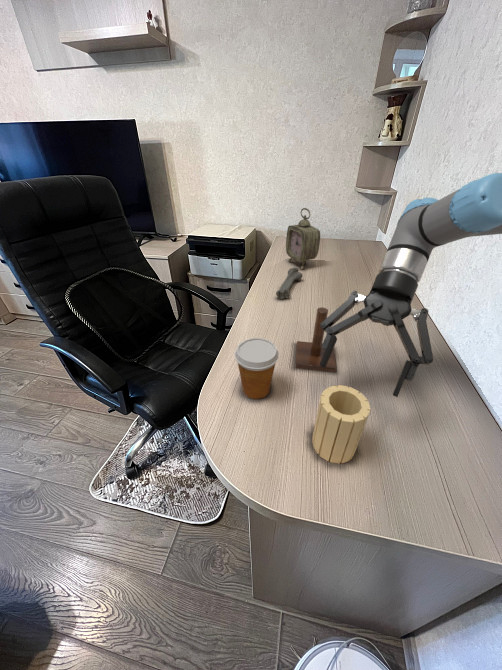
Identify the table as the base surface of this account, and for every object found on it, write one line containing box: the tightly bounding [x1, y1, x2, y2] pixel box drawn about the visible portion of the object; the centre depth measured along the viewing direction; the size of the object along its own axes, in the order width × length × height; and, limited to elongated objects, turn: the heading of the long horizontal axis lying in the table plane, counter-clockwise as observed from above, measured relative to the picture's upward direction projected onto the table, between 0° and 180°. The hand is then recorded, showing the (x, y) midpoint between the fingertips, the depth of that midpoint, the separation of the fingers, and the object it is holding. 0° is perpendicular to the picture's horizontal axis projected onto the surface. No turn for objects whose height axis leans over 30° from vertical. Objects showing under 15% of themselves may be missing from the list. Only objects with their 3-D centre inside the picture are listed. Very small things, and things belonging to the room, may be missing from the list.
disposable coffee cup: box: [234, 337, 280, 400], centre depth 62 cm, size 10×10×12 cm
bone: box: [275, 267, 303, 300], centre depth 109 cm, size 22×6×6 cm, turn 159°
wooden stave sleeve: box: [311, 384, 371, 465], centre depth 51 cm, size 8×8×12 cm
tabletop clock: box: [285, 207, 321, 270], centre depth 125 cm, size 14×9×25 cm, turn 25°
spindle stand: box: [295, 306, 337, 373], centre depth 71 cm, size 10×10×15 cm
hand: (356, 380), depth 52 cm, fingers open, 13 cm apart
